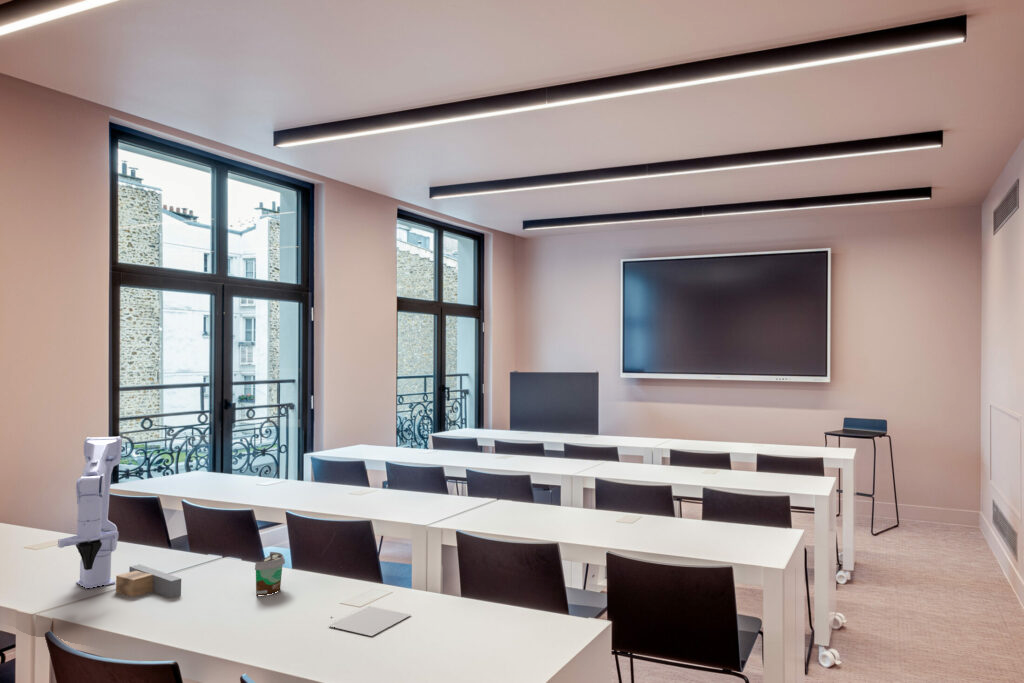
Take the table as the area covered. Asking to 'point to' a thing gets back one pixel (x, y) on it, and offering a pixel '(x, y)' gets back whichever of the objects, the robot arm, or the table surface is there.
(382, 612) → the grey flat panel
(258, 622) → the table surface
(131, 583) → the tan block
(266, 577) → the food container
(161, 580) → the gray rectangular bar
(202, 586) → the table surface
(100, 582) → the robot arm
